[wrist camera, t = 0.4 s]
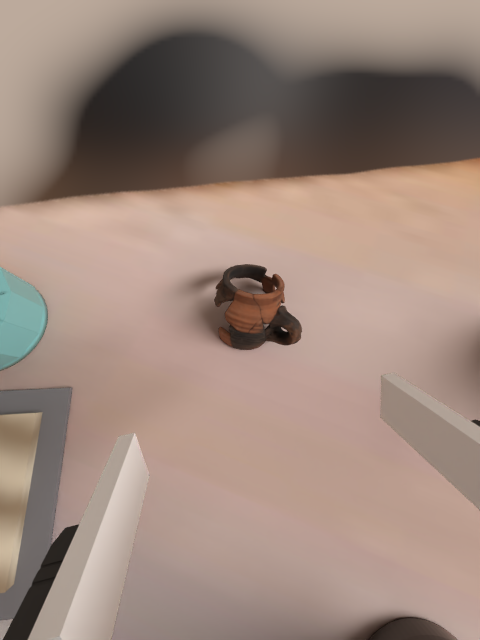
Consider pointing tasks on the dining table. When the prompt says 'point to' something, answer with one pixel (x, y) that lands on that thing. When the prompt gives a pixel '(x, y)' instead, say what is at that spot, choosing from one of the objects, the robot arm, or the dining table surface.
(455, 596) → the dining table surface
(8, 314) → the bowl
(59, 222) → the dining table surface
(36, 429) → the lid
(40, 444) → the mat
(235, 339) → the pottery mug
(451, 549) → the dining table surface
